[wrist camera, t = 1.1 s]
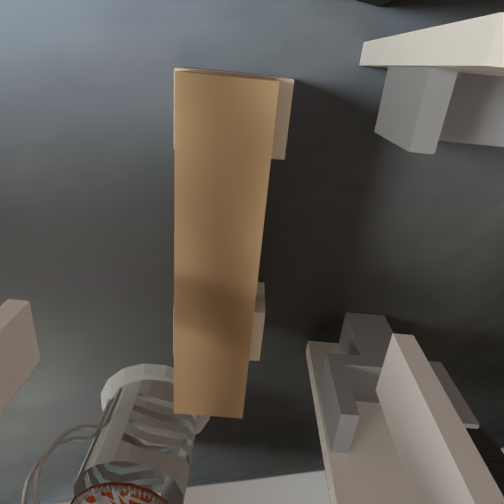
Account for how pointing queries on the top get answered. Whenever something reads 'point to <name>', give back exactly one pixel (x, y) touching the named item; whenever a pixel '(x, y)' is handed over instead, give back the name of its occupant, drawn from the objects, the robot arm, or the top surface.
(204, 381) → the rail
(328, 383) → the brackets
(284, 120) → the spacers
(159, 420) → the french press
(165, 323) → the top surface
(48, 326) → the top surface
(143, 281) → the top surface
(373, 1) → the wine bottle
